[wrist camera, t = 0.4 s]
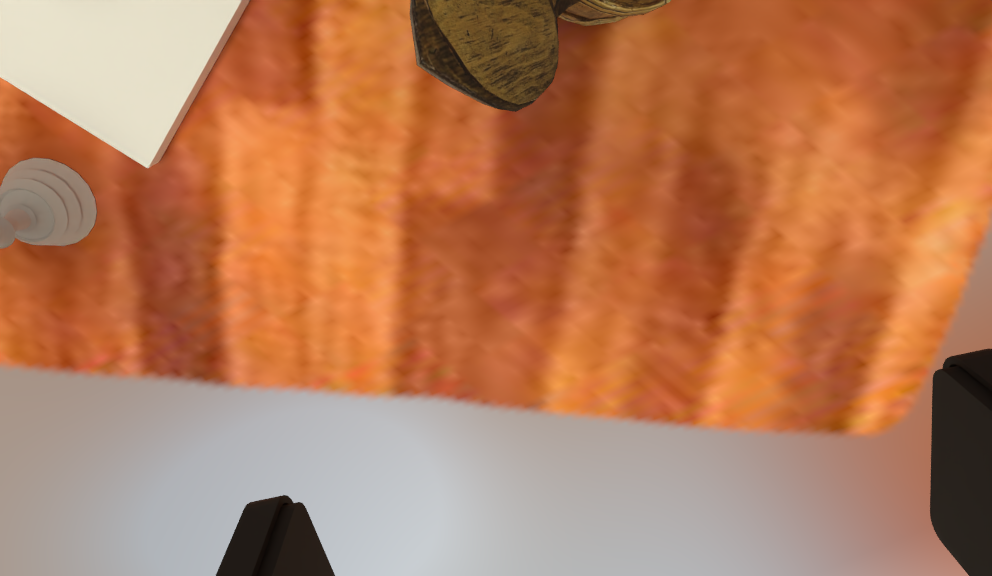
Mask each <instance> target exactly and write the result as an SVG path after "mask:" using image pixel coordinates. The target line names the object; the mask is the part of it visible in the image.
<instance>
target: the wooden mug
mask: <svg viewBox="0 0 992 576" xmlns="http://www.w3.org/2000/svg"><path fill="white" fill-rule="evenodd" d="M670 1H671V0H411V3H410V20H411V26H412V33H413V39H414V46H415V53H416V61H417V65H418V66H419V67H421V68H422V69H424V70H425V71H427V72H428V73H430V74H431V75H433V76H434V77H436V78H437V79H439V80H440V81H442V82H443V83H445V84H446V85H448V86H450V87H452V88H454V89H456V90H458V91H459V92H461V93H463V94H465V95H467V96H469V97H471V98H473V99H475V100H477V101H479V102H480V103H482V104H485V105H488V106H491V107H494V108H497V109H502V110H509V111H515V112H516V111H518V110H520V109H522V108H524V107H526V106H528V105H530V104H532V103H533V102H534V101H535V100H536V99H537V98H538V97H539V96H540V95H541V94H542V93H543V92H544V91H545V90H546V89H547V88H548V87H549V85H550V84H551V83H552V81H553V79H554V76H555V72H556V69H557V64H558V48H559V41H558V24H557V18H558V17H559V18H561V19H563V20H566V21H570V22H573V23H577V24H580V25H583V26H590V25H597V24H604V23H611V22H616V21H619V20H622V19H624V18H626V17H628V16H633V15H644V14H646V13H648V12H650V11H653V10H655V9H657V8H660V7H662V6H663V5H665V4H667V3H668V2H670Z"/></svg>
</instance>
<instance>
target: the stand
mask: <svg viewBox="0 0 992 576" xmlns="http://www.w3.org/2000/svg"><path fill="white" fill-rule="evenodd" d="M249 1H250V0H0V77H1V78H3V79H4V80H6V81H7V82H9V83H11V84H12V85H14V86H15V87H17V88H19V89H20V90H22V91H24V92H25V93H27V94H28V95H30V96H32V97H33V98H35V99H36V100H38V101H40V102H41V103H43V104H45V105H46V106H48V107H49V108H51V109H53V110H54V111H56V112H57V113H59V114H61V115H62V116H64V117H66V118H67V119H69V120H70V121H72V122H74V123H75V124H77V125H78V126H80V127H82V128H83V129H85V130H87V131H88V132H90V133H91V134H93V135H95V136H96V137H98V138H99V139H101V140H103V141H104V142H106V143H107V144H109V145H111V146H112V147H114V148H116V149H117V150H119V151H120V152H122V153H124V154H125V155H127V156H128V157H130V158H132V159H133V160H135V161H137V162H138V163H140V164H141V165H143V166H145V167H146V168H150V167H151V166H153V165H155V164H156V163H158V162H159V161H160V160H161V158H162V156H163V154H164V153H165V151H166V149H167V147H168V145H169V144H170V142H171V140H172V138H173V136H174V135H175V133H176V131H177V129H178V128H179V126H180V124H181V122H182V120H183V119H184V117H185V115H186V113H187V112H188V110H189V108H190V106H191V104H192V103H193V101H194V99H195V97H196V96H197V94H198V92H199V90H200V88H201V87H202V85H203V83H204V81H205V80H206V78H207V76H208V74H209V72H210V71H211V69H212V67H213V65H214V63H215V62H216V60H217V58H218V56H219V55H220V53H221V51H222V49H223V47H224V46H225V44H226V42H227V40H228V39H229V37H230V35H231V33H232V31H233V30H234V28H235V26H236V24H237V23H238V21H239V19H240V17H241V15H242V14H243V12H244V10H245V8H246V6H247V5H248V3H249Z"/></svg>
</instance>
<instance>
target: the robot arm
mask: <svg viewBox="0 0 992 576" xmlns="http://www.w3.org/2000/svg"><path fill="white" fill-rule="evenodd" d="M932 395H933V396H932V445H931V446H932V448H931V450H932V451H931V496H930V516H931V521H932V525H933V527H934V530H935V532H936V534H937V536H938V537H939V539H940V540H941V542H942V543H943V544H944V546H945V547H946V548H947V549H948V550H949V552H950V553H951V554H952V555H953V557H954V558H955V559H956V560H957V561H958V563H959V564H960V565H961V566H962V567H963V569H964V570H965V571H966V572H967V574H968V575H969V576H992V349H985V350H980V351H975V352H970V353H966V354H961V355H956V356H951V357H949V358H947V359H946V360H945V362H944V364H943V369H939V370H937V371H935V373H934V375H933V394H932ZM216 576H335V575H334V572H333V570H332V568H331V565H330V563H329V561H328V559H327V556H326V554H325V551H324V549H323V547H322V544H321V542H320V540H319V538H318V536H317V533H316V531H315V528H314V526H313V524H312V521H311V519H310V517H309V514H308V512H307V510H306V508H305V506H304V505H303V504H302V503H300V502H298V503H293V502H292V500H291V499H290V498H289V497H288V496H285V495H283V496H279V497H274V498H269V499H264V500H259V501H255V502H250V503H249V504H247V505H246V507H245V508H244V510H243V513H242V515H241V517H240V520H239V522H238V524H237V527H236V529H235V532H234V534H233V536H232V539H231V541H230V543H229V546H228V548H227V550H226V553H225V555H224V557H223V560H222V562H221V565H220V567H219V569H218V572H217V574H216Z"/></svg>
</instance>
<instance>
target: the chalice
mask: <svg viewBox="0 0 992 576" xmlns="http://www.w3.org/2000/svg"><path fill="white" fill-rule="evenodd" d="M96 215H97V210H96V203H95V198H94V196H93V194H92V192H91V190H90V188H89V186H88V184H87V183H86V182H85V181H84V180H83V179H82V178H81V176H80V175H79V174H78V173H77V172H75V171H74V170H72V169H71V168H69V167H68V166H66V165H65V164H62V163H59V162H57V161H54V160H51V159H43V158H32V159H28V160H24V161H20V162H19V163H17V164H16V165H15V166H13V167H12V168H10V169H9V171H8V172H7V174H6V176H5V177H4V179H3V182H2V185H1V186H0V248H6V247H8V246H10V245H11V244H12V243H13V242H14V240H15V238H17V239H18V240H20V241H22V242H25V243H28V244H31V245H57V246H65V245H69V244H73V243H77V242H78V241H80V240H81V239H83V238H84V237H86V236H87V235H88V234H89V232H90V231H91V229H92V228H93V226H94V224H95V219H96Z"/></svg>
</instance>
